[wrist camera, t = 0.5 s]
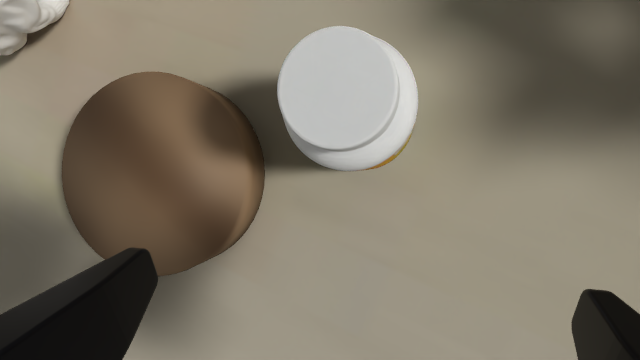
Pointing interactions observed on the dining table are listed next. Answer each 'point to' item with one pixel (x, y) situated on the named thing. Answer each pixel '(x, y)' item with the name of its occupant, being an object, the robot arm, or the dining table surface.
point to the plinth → (162, 171)
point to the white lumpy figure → (26, 20)
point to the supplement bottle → (347, 99)
